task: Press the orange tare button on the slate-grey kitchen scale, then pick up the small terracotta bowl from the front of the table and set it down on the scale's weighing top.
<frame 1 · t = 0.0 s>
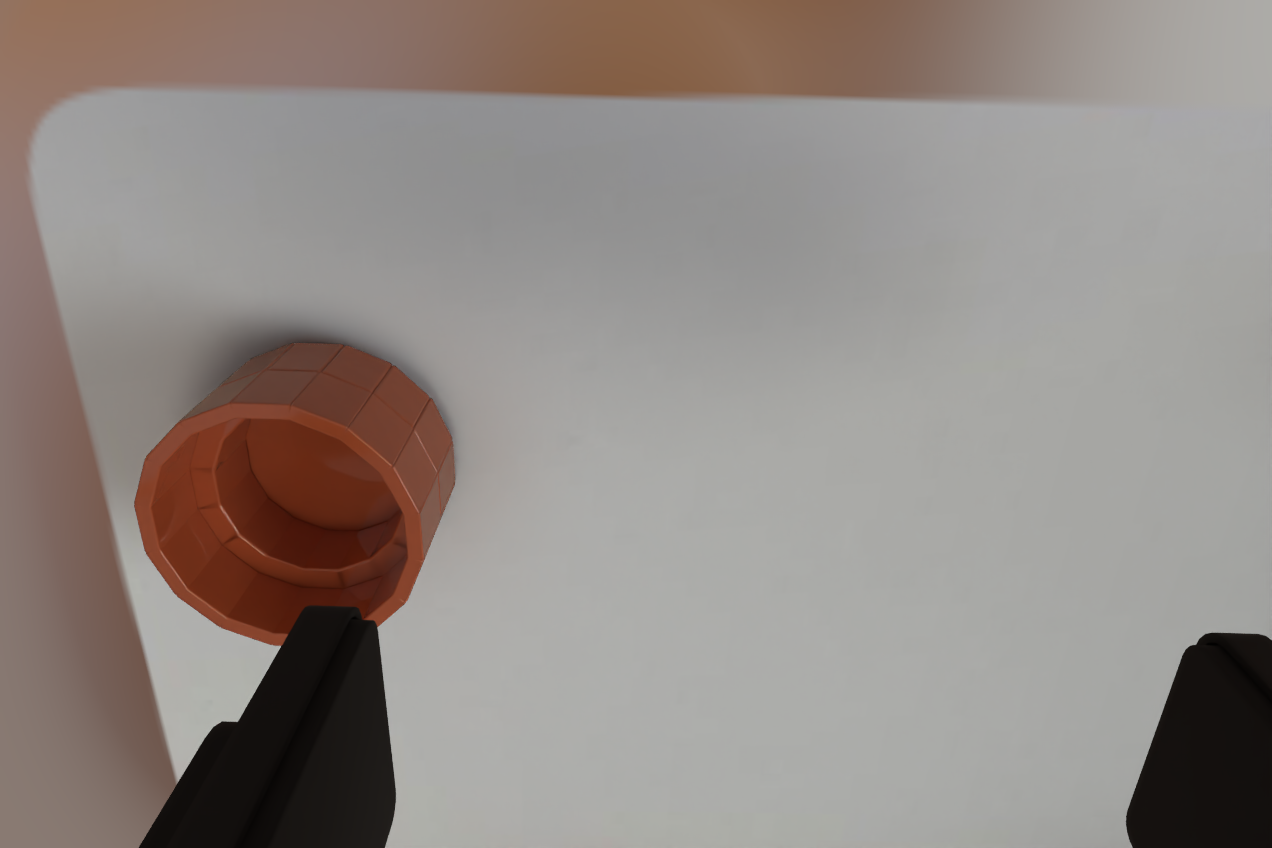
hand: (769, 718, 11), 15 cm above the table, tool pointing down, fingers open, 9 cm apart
terracotta bowl: (339, 448, 26), on the table
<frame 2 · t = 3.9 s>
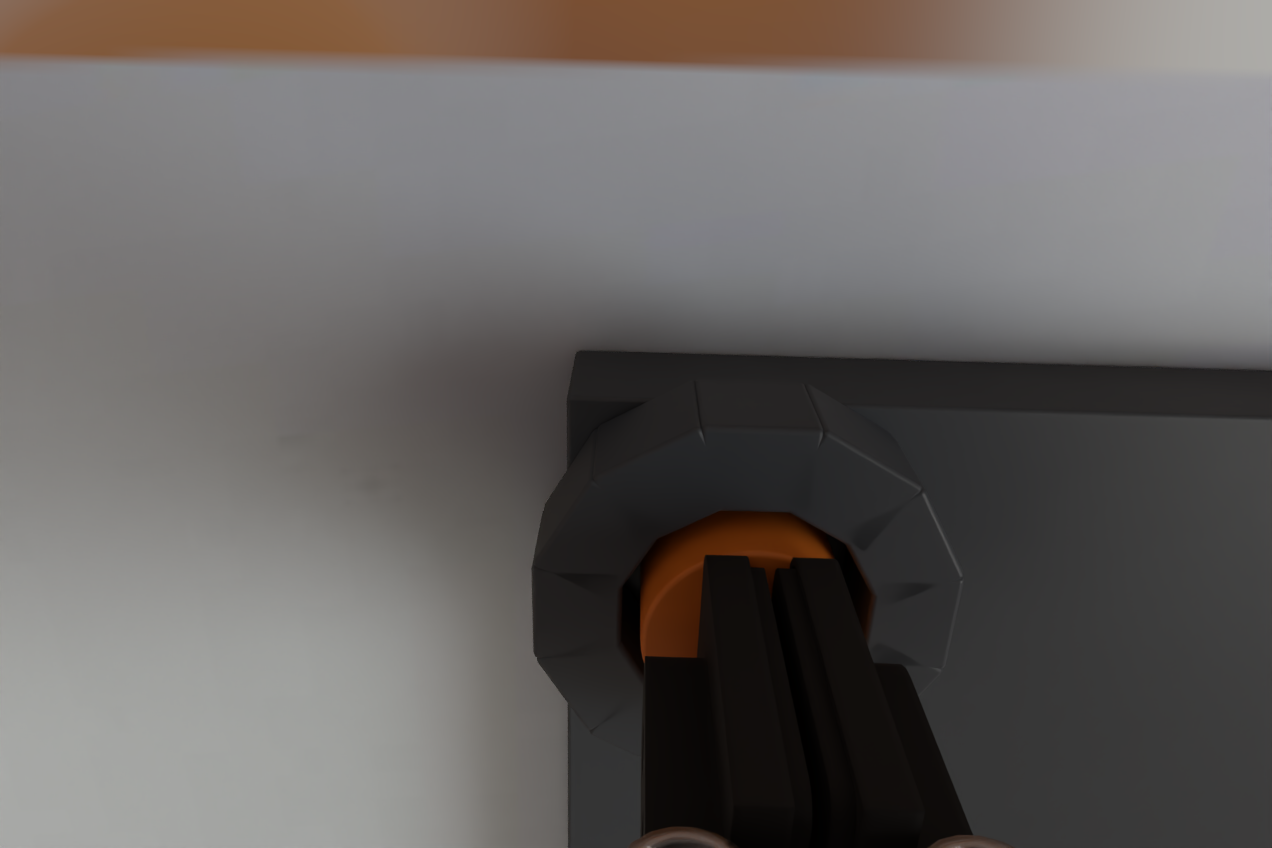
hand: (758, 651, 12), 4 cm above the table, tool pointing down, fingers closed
scale: (942, 705, 17), on the table
tare button: (741, 603, 12), point 3 cm above the table, slide at -0.8 cm, touching gripper
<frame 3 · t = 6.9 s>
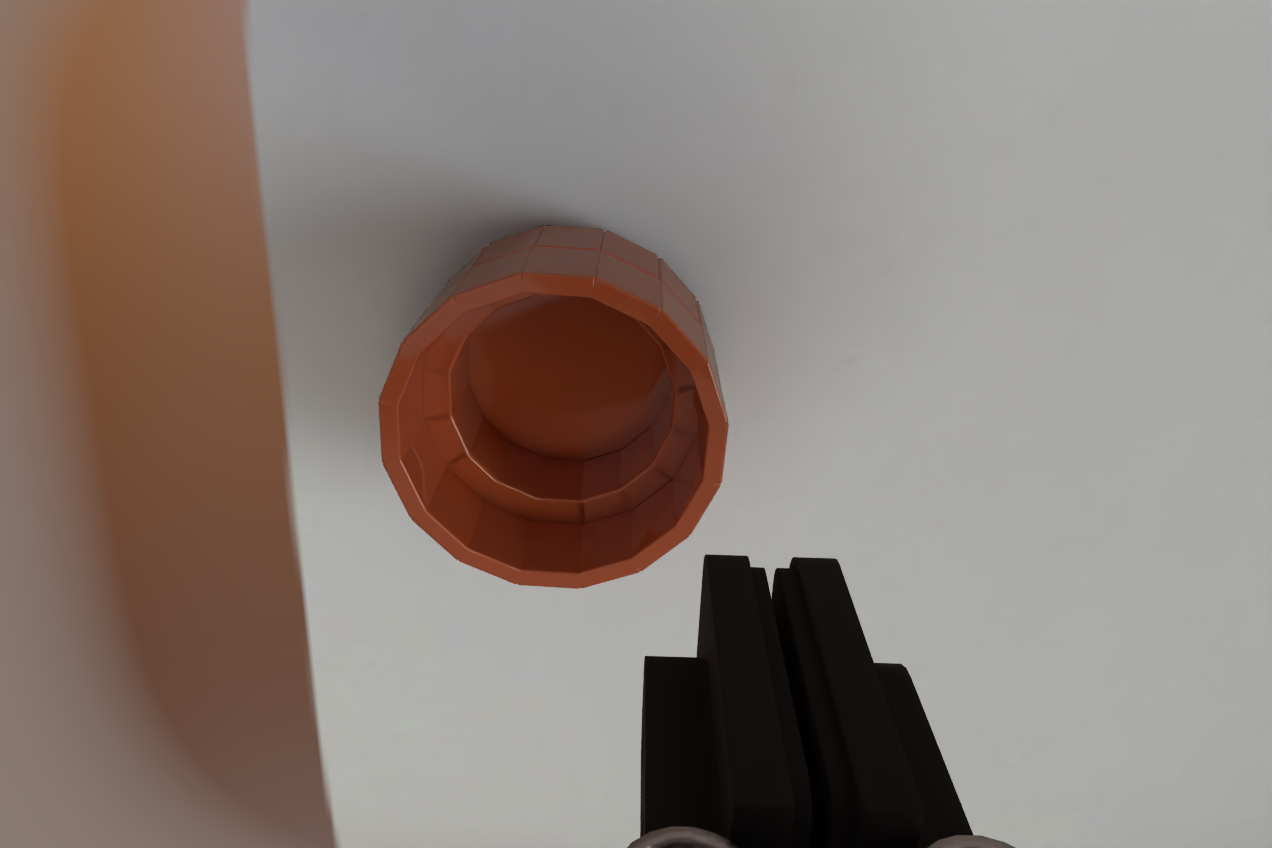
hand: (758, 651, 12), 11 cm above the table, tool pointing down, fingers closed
terracotta bowl: (571, 361, 22), on the table
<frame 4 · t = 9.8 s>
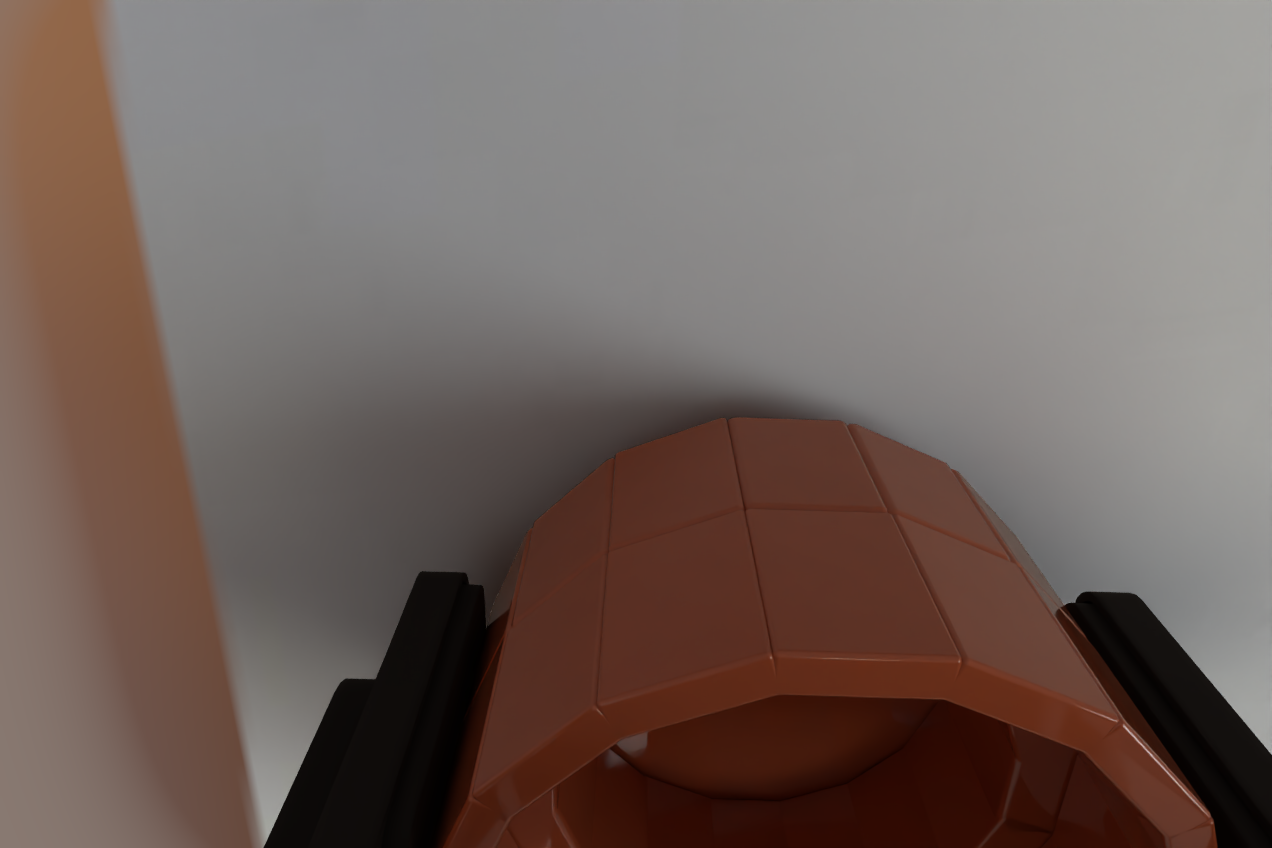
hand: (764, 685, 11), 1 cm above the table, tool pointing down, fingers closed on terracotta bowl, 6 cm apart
terracotta bowl: (755, 633, 12), on the table, touching gripper
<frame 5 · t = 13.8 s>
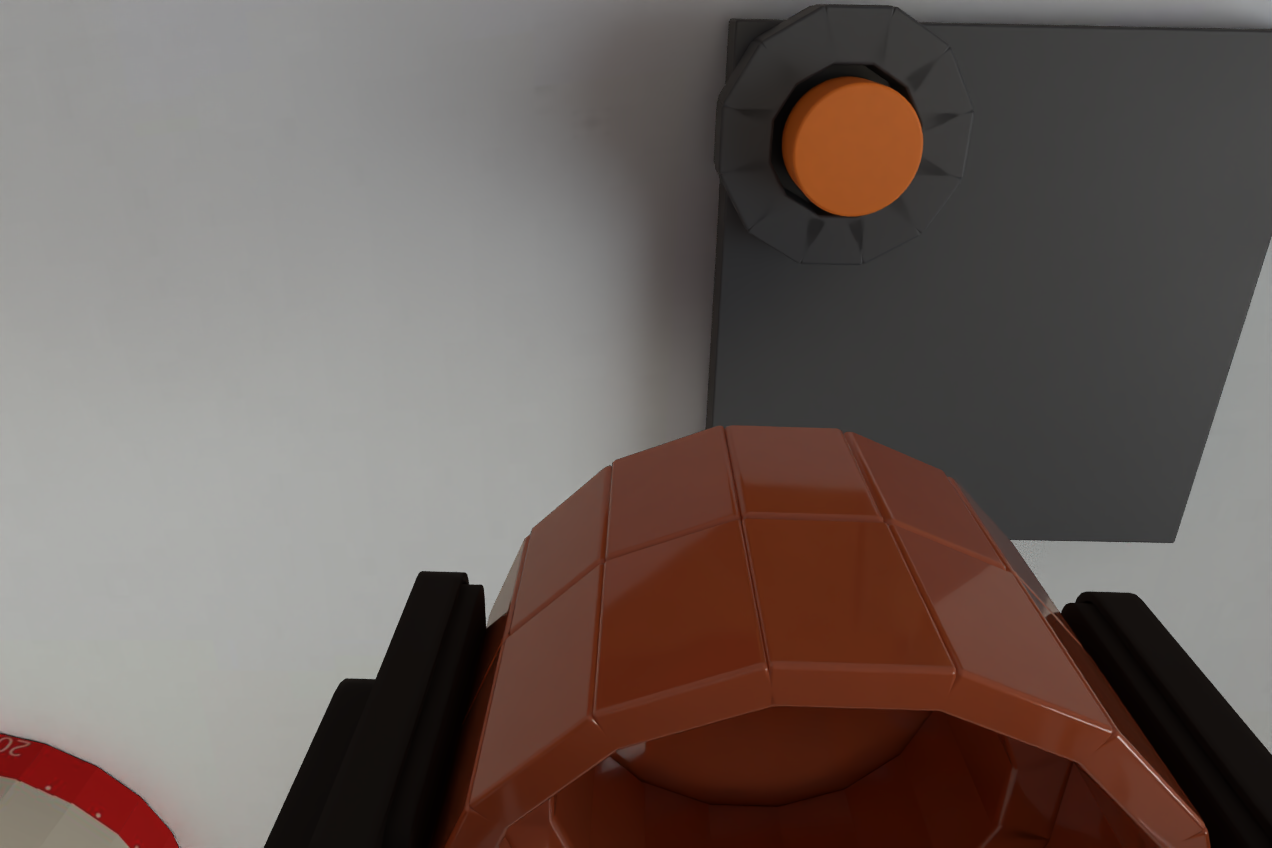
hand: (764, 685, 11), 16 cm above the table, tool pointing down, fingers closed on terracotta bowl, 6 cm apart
scale: (959, 293, 26), on the table
tare button: (849, 146, 20), point 4 cm above the table, slide at 0.1 cm
terracotta bowl: (752, 640, 12), point 15 cm above the table, touching gripper
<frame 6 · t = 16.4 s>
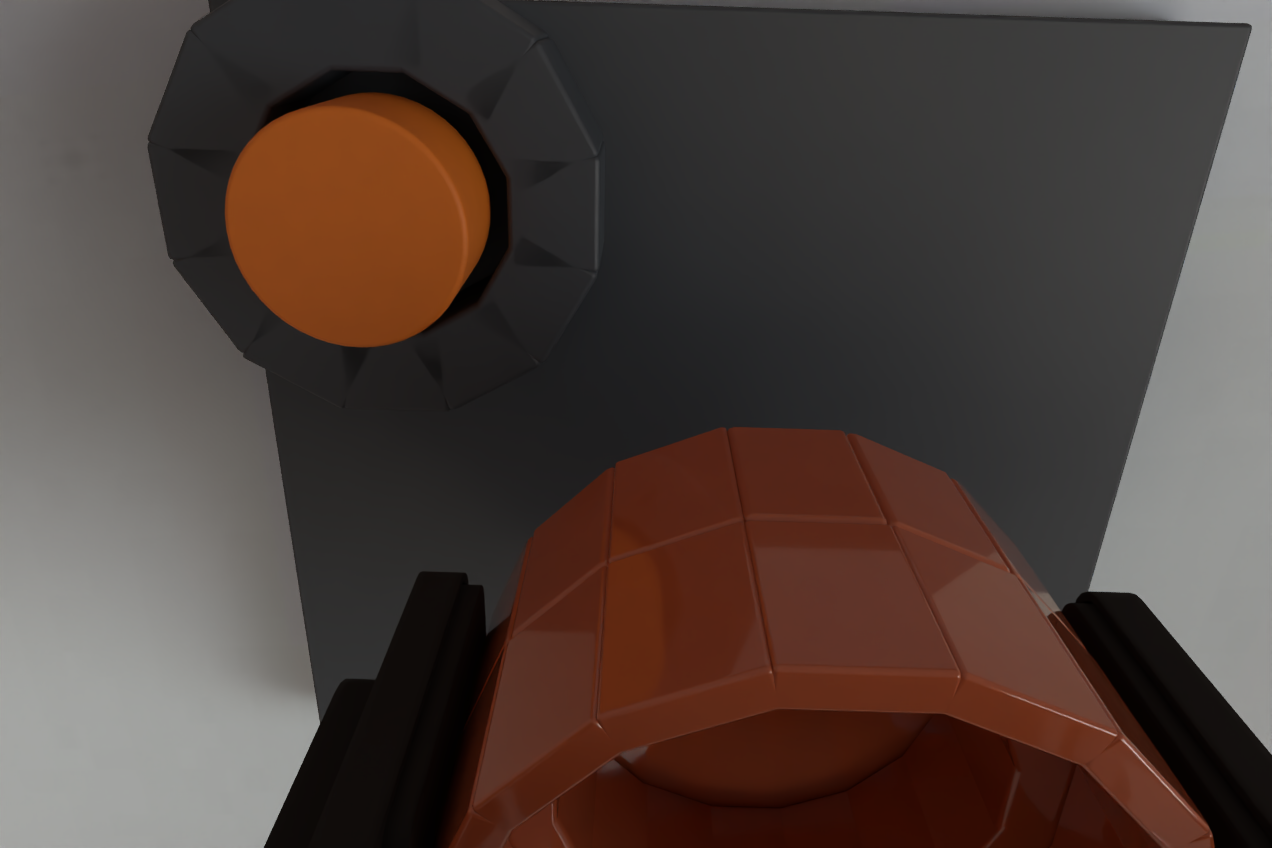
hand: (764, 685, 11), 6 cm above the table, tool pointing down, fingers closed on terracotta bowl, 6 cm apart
scale: (694, 423, 17), on the table
tare button: (367, 218, 11), point 4 cm above the table, slide at 0.1 cm
terracotta bowl: (755, 641, 12), point 5 cm above the table, touching gripper
when the fingers open (3 cm above the table, at t = 18.1 s): terracotta bowl stays where it is, resting on scale.
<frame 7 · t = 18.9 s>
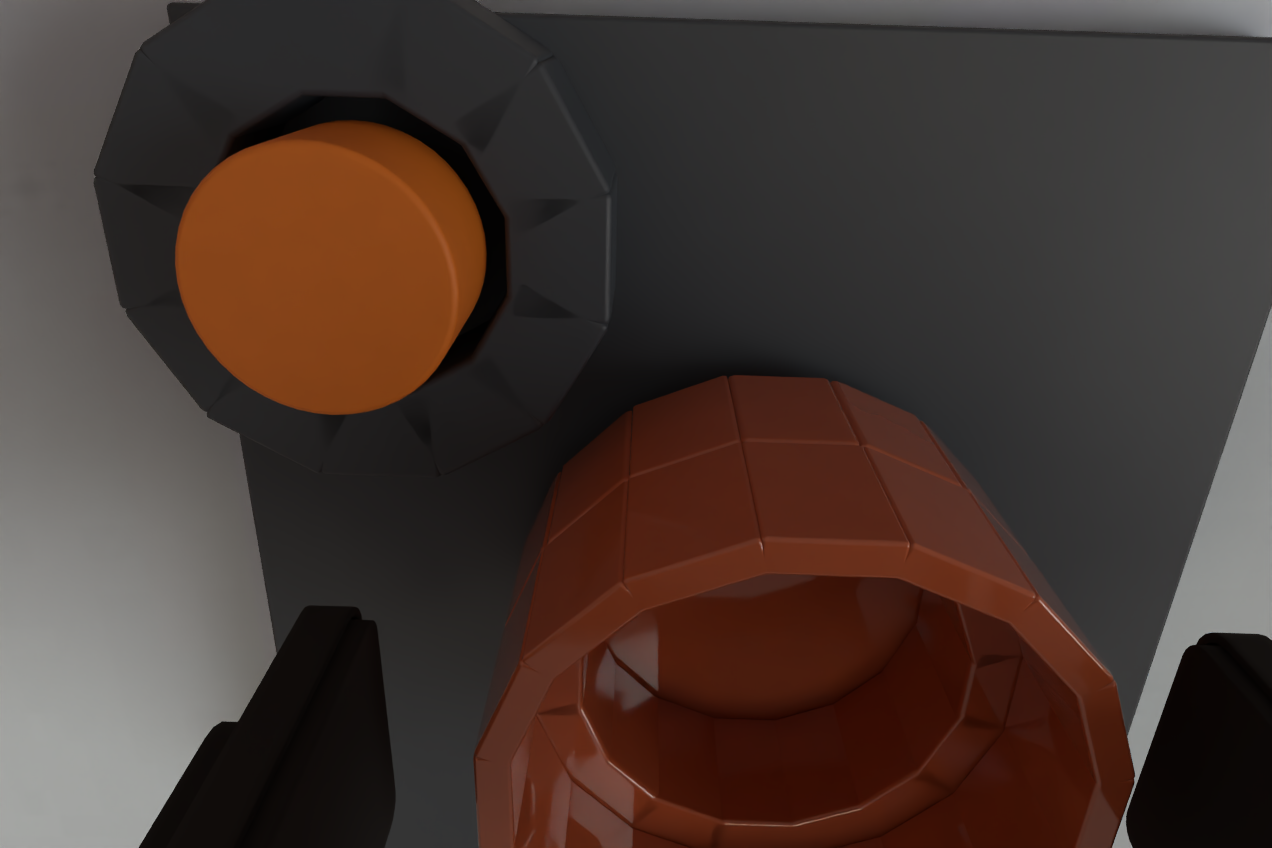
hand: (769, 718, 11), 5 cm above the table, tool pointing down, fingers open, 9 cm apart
scale: (713, 476, 15), on the table
tare button: (343, 265, 10), point 4 cm above the table, slide at 0.1 cm
terracotta bowl: (752, 570, 14), point 2 cm above the table, touching scale
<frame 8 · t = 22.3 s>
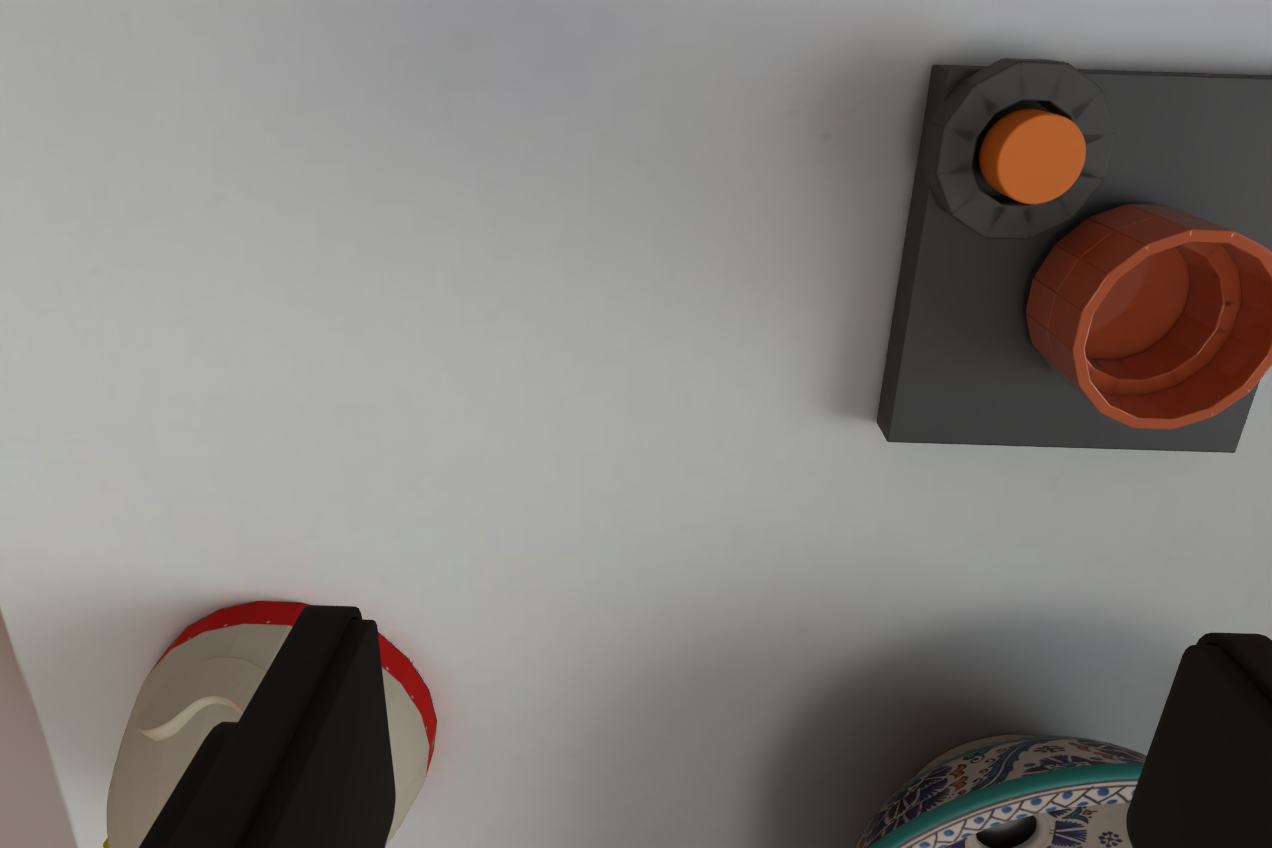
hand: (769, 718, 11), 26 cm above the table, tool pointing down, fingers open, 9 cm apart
scale: (1081, 264, 35), on the table
kitchen timer: (298, 713, 45), on the table
tare button: (1030, 156, 29), point 4 cm above the table, slide at 0.1 cm
bowl: (996, 807, 47), on the table
terracotta bowl: (1114, 293, 33), point 2 cm above the table, touching scale
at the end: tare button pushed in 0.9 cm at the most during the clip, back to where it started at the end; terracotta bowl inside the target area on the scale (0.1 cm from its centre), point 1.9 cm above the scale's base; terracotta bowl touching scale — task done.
